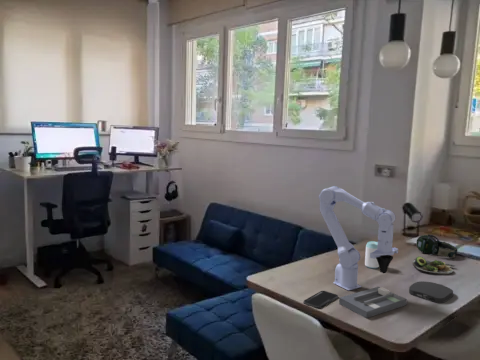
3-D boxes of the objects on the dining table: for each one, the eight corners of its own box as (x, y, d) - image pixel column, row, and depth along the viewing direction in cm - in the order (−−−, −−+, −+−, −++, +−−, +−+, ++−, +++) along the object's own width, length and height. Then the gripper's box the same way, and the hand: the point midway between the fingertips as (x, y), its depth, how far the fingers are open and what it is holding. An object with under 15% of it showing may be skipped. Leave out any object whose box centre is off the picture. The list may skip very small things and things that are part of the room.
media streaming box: (455, 295, 177) (456, 288, 177) (441, 305, 168) (441, 298, 167) (421, 284, 188) (421, 278, 188) (405, 293, 178) (405, 287, 178)
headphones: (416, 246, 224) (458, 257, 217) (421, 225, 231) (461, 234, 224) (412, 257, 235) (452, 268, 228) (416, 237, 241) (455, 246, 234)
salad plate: (447, 263, 216) (448, 254, 215) (463, 276, 198) (464, 267, 198) (408, 262, 217) (409, 253, 217) (420, 275, 200) (421, 265, 199)
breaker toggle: (378, 293, 171) (378, 288, 171) (382, 291, 172) (382, 287, 172) (385, 296, 168) (385, 291, 168) (389, 295, 169) (389, 290, 169)
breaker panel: (339, 303, 168) (339, 294, 167) (378, 292, 179) (378, 283, 178) (366, 318, 156) (366, 308, 155) (406, 305, 167) (406, 296, 166)
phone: (302, 301, 168) (322, 290, 179) (302, 304, 168) (322, 292, 179) (319, 307, 162) (339, 295, 174) (319, 310, 163) (339, 298, 174)
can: (382, 267, 208) (384, 244, 206) (371, 269, 205) (372, 245, 203) (373, 263, 214) (374, 240, 212) (361, 264, 211) (363, 241, 210)
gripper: (380, 245, 167) (378, 278, 169) (405, 240, 174) (403, 272, 176) (366, 241, 173) (365, 273, 175) (391, 236, 180) (389, 266, 182)
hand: (383, 272), depth 176 cm, fingers closed
